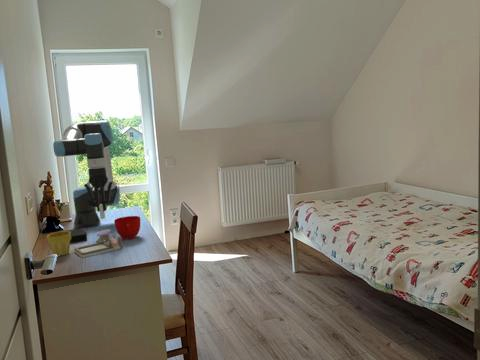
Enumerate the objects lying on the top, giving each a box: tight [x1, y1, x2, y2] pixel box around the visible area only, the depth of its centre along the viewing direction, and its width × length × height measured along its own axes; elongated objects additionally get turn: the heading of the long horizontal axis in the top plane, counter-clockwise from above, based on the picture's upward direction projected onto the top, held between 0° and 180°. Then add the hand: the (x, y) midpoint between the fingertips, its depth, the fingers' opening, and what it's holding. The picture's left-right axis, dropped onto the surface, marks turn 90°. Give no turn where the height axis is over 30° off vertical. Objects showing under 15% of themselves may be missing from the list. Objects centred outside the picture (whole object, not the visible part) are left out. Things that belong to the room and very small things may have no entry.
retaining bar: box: [107, 235, 119, 247], centre depth 209 cm, size 15×3×2 cm, turn 25°
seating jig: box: [73, 235, 123, 258], centre depth 211 cm, size 13×19×6 cm
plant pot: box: [46, 230, 71, 256], centre depth 209 cm, size 10×10×10 cm
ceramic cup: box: [114, 215, 141, 240], centre depth 228 cm, size 13×17×10 cm
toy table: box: [95, 228, 112, 243], centre depth 224 cm, size 10×9×6 cm
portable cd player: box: [52, 228, 88, 244], centre depth 236 cm, size 16×17×4 cm
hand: (102, 218), depth 206 cm, fingers closed
